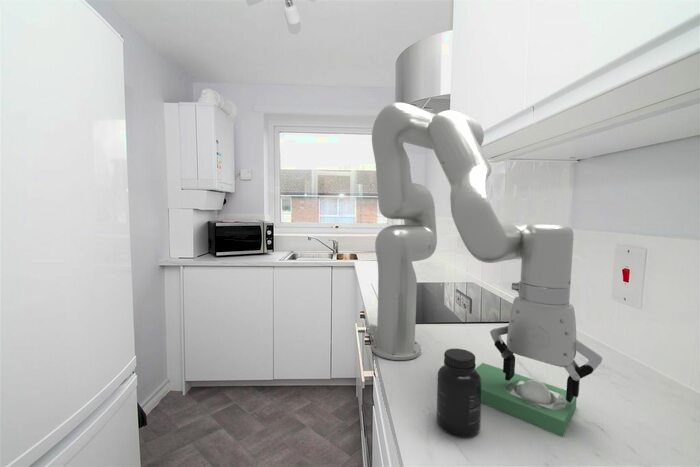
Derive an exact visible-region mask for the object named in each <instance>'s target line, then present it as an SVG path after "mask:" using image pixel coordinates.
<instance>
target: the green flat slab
mask: <svg viewBox="0 0 700 467" xmlns="http://www.w3.org/2000/svg"><path fill="white" fill-rule="evenodd" d="M475 370H476V371H477V372H478V373H479V375H480V377H481V404H483V405H486V406H489V407H491V408H493V409H495V410H499V411H501V412H503V413H506V414H508V415H510V416H512V417H515V418H517V419H520V420H522V421H525V422H527V423H530V424H531V425H534V426H537V427H539V428H541V429H544V430H546V431H549V432H551V433H553V434H556V435H559V436H561V437H564V436H565V433H566V431H567V428H568V427H569V424H570V422H571V419H572V417H573V415H574V414H575V413H574V412H575V410H576V408H577V398H578V397H573V400H572V402H571V403H570V402H567V400H566V391H567V389H564V388H560V387H557V386H554V385H551V384H548V383H545V382H543V381H540V380H538V381H539V382H541V383H543V384H544V385H545V386H546V387H547V388H548V390H549V392H550V395H551V401H550V404H549V405H544V404H537V403H533V402H530V401H528V400H525V399H523V398H522V397H521V393H520V390H521V386H522V385H523V383H524V382H526V381H528V380H534V378H530V377H527V376H524V375H520V374H518V373H516V372H515V373H514V376H513V377H512V379H511V380H509V381H507V380H505V373H503V368H499V367H497V366H493V365H492V364H487V363H485V362H482V363H480V364H479V365H478V366H477V367H476V368H475Z"/></svg>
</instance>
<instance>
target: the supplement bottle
mask: <svg viewBox="0 0 700 467" xmlns="http://www.w3.org/2000/svg"><path fill="white" fill-rule="evenodd" d="M443 354H444V357H443V358H444V359H443V365H441V366H440V368H439V369H438V372H437V384H436V385H437V386H436V388H437V392H436V394H437V397H436V398H437V399H436V421H437V423H438V426H439V427H440V428H441V429H442V430H443V431H444V432H445V433H447V434H449V435H452V436H454V437H459V438H469V437H471V438H472V437H474V436H475V435H477V434H478V433H479V432H480V429H481V415H482V413H481V411H482V403H481V377H480V375H479V373H478V372H477V371H476V370H475V369H476V368H477V367H476V354H474V353H473V352H471V351H469V350H466V349H462V348H448V349H446V350H445V351H444V353H443Z"/></svg>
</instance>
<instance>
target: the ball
mask: <svg viewBox="0 0 700 467" xmlns="http://www.w3.org/2000/svg"><path fill="white" fill-rule="evenodd" d="M539 381H540V380H536V379H533V380H528V381H526V382H524V383H523V385H522V386H521V390H520V393H521V397H522V398H523V399H525V400H528V401H530V402H533V403H537V404H544V405H549V404H550V401H551V395H550V392H549V390H548V388H547V387H546V386H545V385H544V384H543V383H544V382H543V383H541V382H542V381H540V382H539Z"/></svg>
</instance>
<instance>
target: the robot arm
mask: <svg viewBox="0 0 700 467" xmlns="http://www.w3.org/2000/svg"><path fill="white" fill-rule="evenodd" d="M484 133H485V132H484V129H483V127H482V125H481V123H479V121H477V120H476V119H475V118H473V117H471V116H469V115H466V114H464V113H461V112H459V111H456V110H443V111H440V112H438V113H433V112H430V111H428V110H425V109H422V108H420V107H418V106H415V105H412V104H410V103H405V102H401V101H400V102H399V101H398V102H391V103H389V104H387V105H385V106H384V107H383V108H382V109H381V110H380V111H379V113H378V114H377V117H376V118H375V121H374V122H373V126H372V130H371V143H372V151H373V152H372V153H373V155H374V156H373V157H374V162H375V171H376V172H375V174H376V177H375V178H376V189H377V190H376V191H377V201H378V202H377V203H378V209H379V212H380V214H381V215H382V216H383V217H384V218H385V219H388V220H389V219H391V220H403V221H404V224H393V225H389V226H386V227H384V228H383V229H381V230H380V231H379V233H378V234H377V235H376V238H375V245H374V246H375V247H374V248H375V249H374V250H375V255H376V260H377V261H376V262H377V271H378V272H377V274H378V276H377V277H378V278H377V279H378V280H377V281H378V283H377V288H378V289H377V319H376V320H377V323H376V324H377V325H375V324H370V325H369V326H368V329H366V334H367V335H368V336H369V335H370V336H372V337H373V340H372V341H371V342H370V350H371V351H372V353H374V354H375V355H376V356H377V357H380V358H383V359H387V360H392V361H409V360H412V359H415V358H417V357H419V356H420V354H421V353H422V346H421V344H420V343H418V342H417V341H416V320H417V319H416V317H417V315H416V314H417V291H418V289H417V288H418V284H417V283H418V280H417V276H416V271H415V269H414V265H413V262H419V261H424V260H427V259H429V258H430V257H432V256H433V254H434V253H435V251H436V248H437V244H438V234H437V222H436V207H435V201H434V197H433V195H432V193H431V191H430V190H429V189H428V188H427V186H425V185H422V184H420V183H414V182H413V181H412V175H411V163H410V159H409V156H408V153H407V152H406V150H405V147H404V144H409V145H412V146H417V147H421V148H425V149H430V150H433V151H434V154H435V156H436V158H437V161H438V163H439V165H440V167H441V168H442V171H443V173H444V175H445V177H446V179H447V181H448V184H449V187H450V193H449V194H450V196H449V198H450V212H451V216H452V220H453V223H454V225H455V227H456V230H457V231H458V234H459V236H460V238H461V240H462V242H463V244H464V246H465V248H466V250H468V252H469V254H471V255H472V257H474V259H476V260H478V261H479V262H481V263H486V264H487V263H488V264H494V263H499V262H505V261H510V260H511V261H512V260H521V263H520V264H521V266H520V281H519V282H512V284H511V290H512V291H516V292H517V293H518V296H515V297H514V299H513V301H512V306H511V310H510V315H509V322H508V325H505V326H501V327H497V328H495V327H494V328H493V329H491V330H490V331H489V333H490V336H491V338H492V340H493V343H494V347H495V348H496V349H497V350H498V352H499V353H500V355H501V358H503V363H502V364H503V365H502V369H503V373H505V380H507V381H509V380H511V379H512V377H513V376H514V373H515V374H516V372H515V370H516V357H515V355H516V356H521V357H525V358H527V359H531V360H534V361H537V362H541V363H544V364H547V365H552V366H556V367H559V368H564V369H565V371H566V372H567V374H568V376H567V380H566V390H567V391H566V400H567V402H570V403H571V402H572V400H573V397H577V398H578V397H579V394H580V393H579V392H580V380H582V379H583V378H585V377H587V376H589V375H591V374H592V373H593V372H594V371H595V370H596V369H598V367H599V365H601V363H602V362H603V357H602V356H601V355H600V354H599V353H597V352H595V351H593V349H591V348H589V347H588V346H587V345H585V344H584V343H582V342H581V341H579V340H578V339H577V320H576V313H575V308H574V305H573V304H572V303H570V297H571V296H570V295H571V283H572V282H571V280H572V269H573V268H572V266H573V265H572V264H573V251H574V230H573V229H572V227H570V226H569V225H566V224H559V223H558V224H557V223H532V224H531V223H529V224H528V223H525V222H524V223H523V222H517V221H509V220H506V221H505V220H499V219H498V217H497V215H496V213H495V212H494V209H493V207H492V205H491V203H490V200H489V198H488V195H487V190H486V185H487V180H488V178H489V176H490V175H491V173H492V166H491V163H490V162H489V161H488V160H489V159H488V158H487V157H486V155H485V153H484V151H483V149H482V148H481V147H482V145H483V142H484V136H485V134H484ZM502 335H506V343H505V341H504V340H503V339H502ZM577 353H579V354H580V355H581V356H583V357H585V358H586V359H587V360H588V361H587V363H585V364H583V365H581V366H580V365H579V364H578V362H577V361H576V360H575V358H576V354H577ZM514 354H515V355H514Z"/></svg>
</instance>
